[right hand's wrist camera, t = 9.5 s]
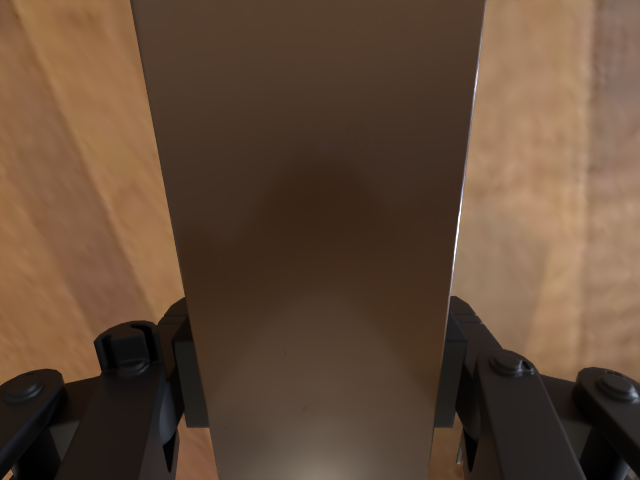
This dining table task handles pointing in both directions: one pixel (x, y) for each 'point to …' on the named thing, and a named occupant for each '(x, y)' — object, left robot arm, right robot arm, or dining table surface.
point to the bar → (315, 219)
